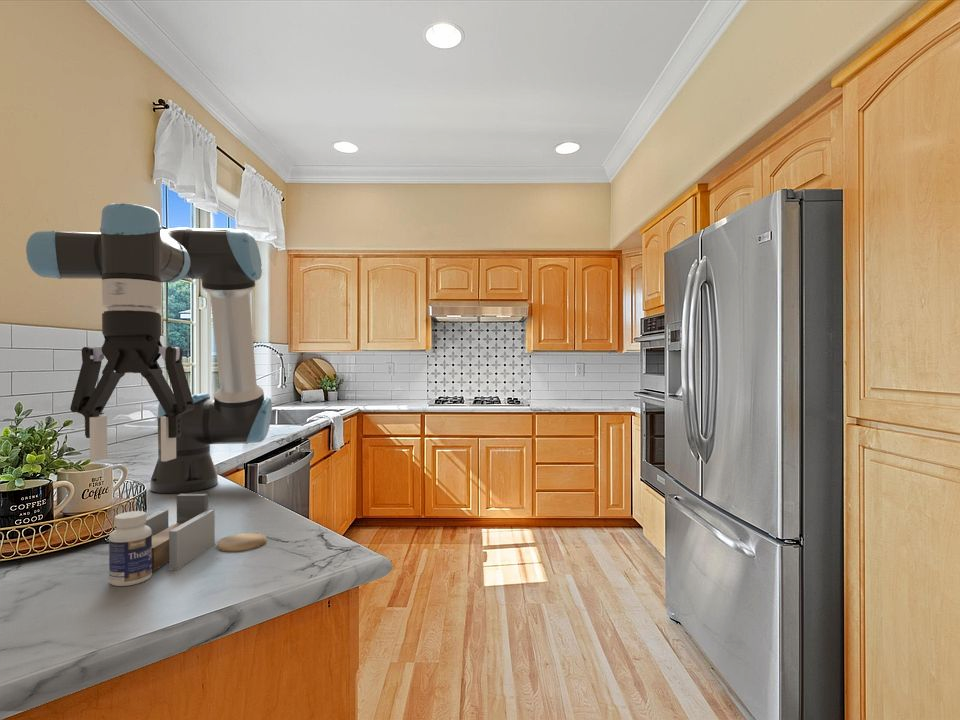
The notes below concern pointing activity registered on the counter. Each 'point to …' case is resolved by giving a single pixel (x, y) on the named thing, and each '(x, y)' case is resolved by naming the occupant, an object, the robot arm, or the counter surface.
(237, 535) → the coaster
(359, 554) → the counter surface
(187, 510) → the sliding block
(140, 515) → the pill bottle
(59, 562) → the counter surface
